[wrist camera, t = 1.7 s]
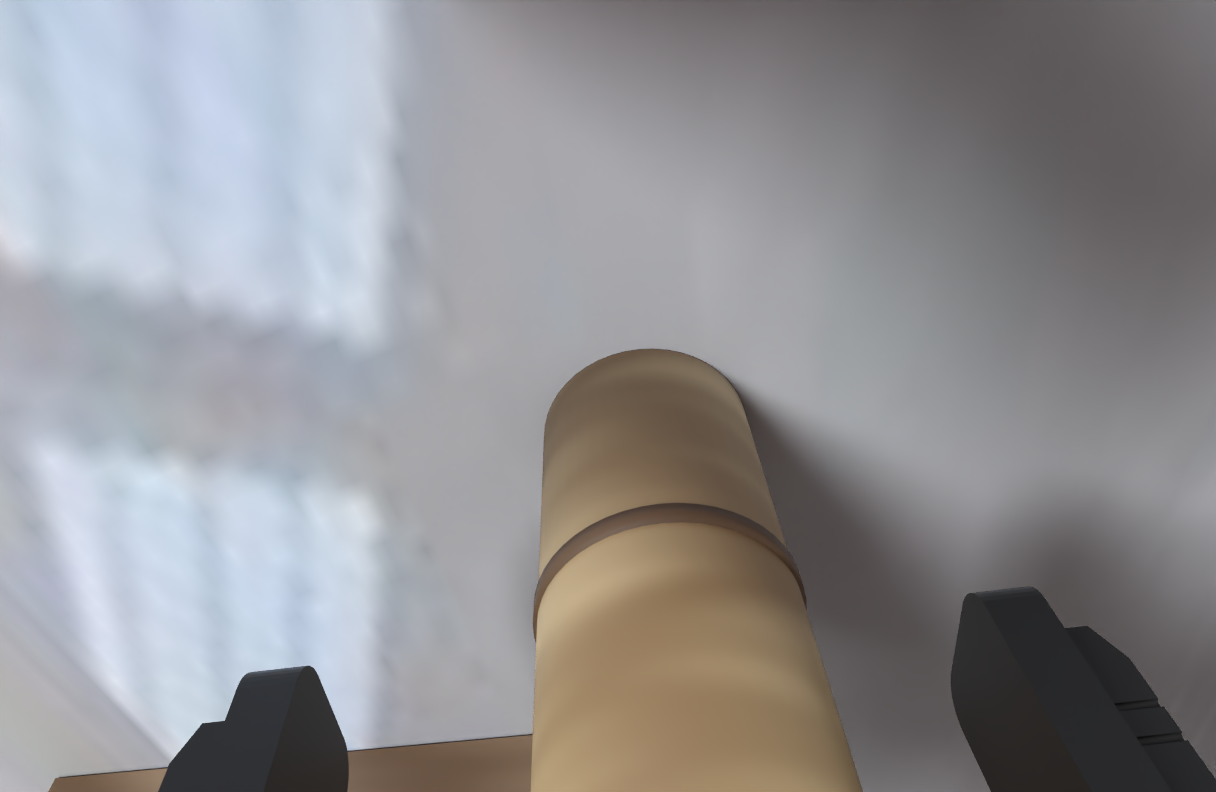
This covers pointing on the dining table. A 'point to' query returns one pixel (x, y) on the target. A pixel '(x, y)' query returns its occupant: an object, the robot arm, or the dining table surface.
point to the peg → (670, 598)
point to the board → (383, 770)
